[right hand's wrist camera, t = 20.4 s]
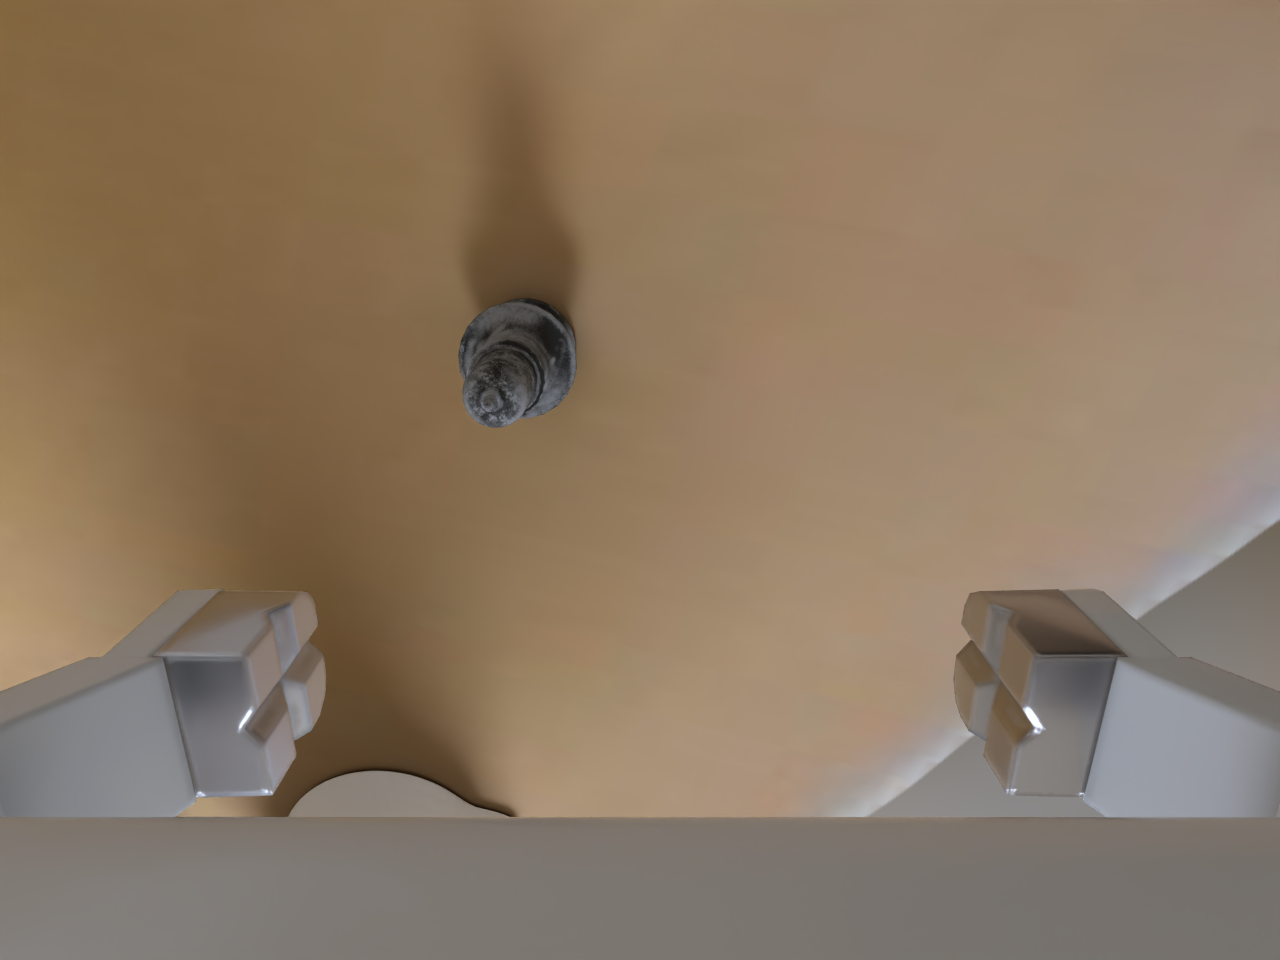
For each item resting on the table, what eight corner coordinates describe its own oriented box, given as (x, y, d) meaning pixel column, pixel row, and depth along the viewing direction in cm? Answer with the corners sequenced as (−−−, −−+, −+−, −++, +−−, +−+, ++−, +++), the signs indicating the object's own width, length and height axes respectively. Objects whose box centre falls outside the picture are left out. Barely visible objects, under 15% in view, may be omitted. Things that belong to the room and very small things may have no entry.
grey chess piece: (458, 378, 44) (397, 446, 33) (491, 275, 42) (437, 310, 31) (560, 416, 45) (534, 495, 34) (596, 316, 43) (581, 365, 32)
